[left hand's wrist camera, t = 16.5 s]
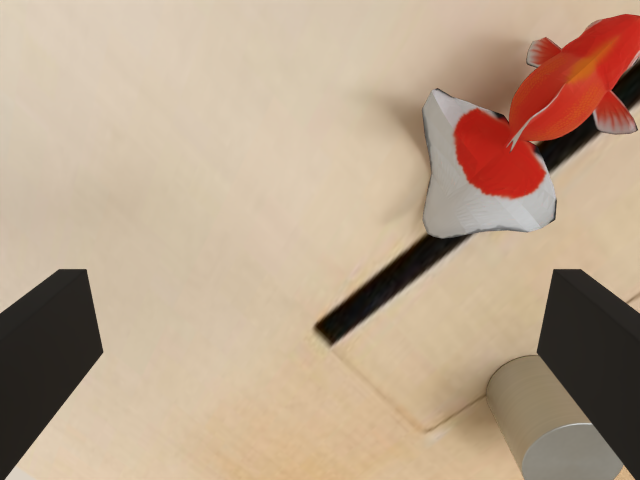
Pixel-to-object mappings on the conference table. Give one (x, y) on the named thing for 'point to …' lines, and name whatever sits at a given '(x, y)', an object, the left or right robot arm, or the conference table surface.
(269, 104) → the conference table surface
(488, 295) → the conference table surface
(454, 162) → the fish
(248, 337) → the conference table surface
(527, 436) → the can
